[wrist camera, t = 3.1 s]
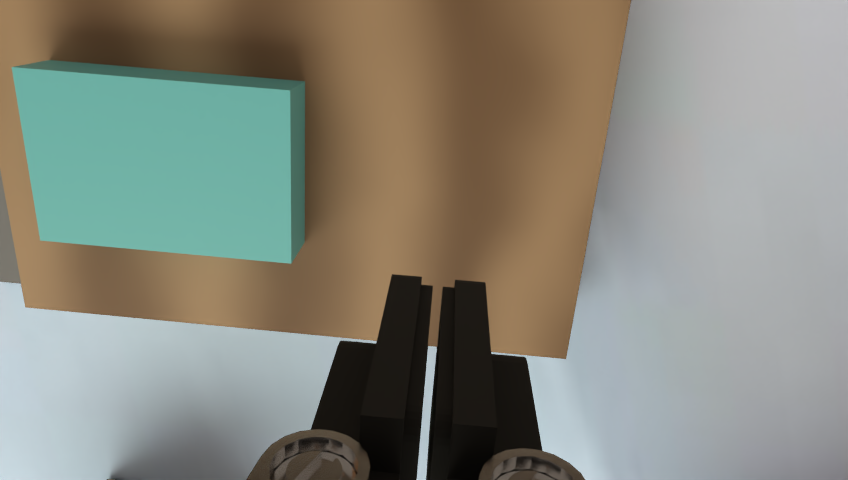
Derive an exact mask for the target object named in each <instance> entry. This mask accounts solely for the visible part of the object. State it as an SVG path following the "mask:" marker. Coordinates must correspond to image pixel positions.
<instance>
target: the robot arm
mask: <svg viewBox="0 0 848 480" xmlns="http://www.w3.org/2000/svg"><path fill="white" fill-rule="evenodd" d="M432 292H433V286H431V285H422V277H419V276H408V275H396V274H392V276H391V280H390V285H389V289H388V294H387V298H386V303H385V307H384V311H383V316H382V320H381V325H380V329H379V334H378V338H377V343H376V344H373V343H362V342H351V341H340V343H339V345H338V348H337V351H336V354H335V357H334V360H333V363H332V366H331V369H330V372H329V375H328V378H327V381H326V385H325V388H324V391H323V394H322V397H321V400H320V403H319V406H318V409H317V412H316V415H315V418H314V421H313V425H312V428H311V430H306V431H299V432H296V433H293V434H290V435H287V436H285V437H283V438H281V439H280V440H278V441H277V442H275V443H273V444H272V445H271V446H270V447H269V448H268V449H267V450H266V451H265V452H264V454H263V455H262V456H261V457H260V459H259V461H258V462H257V464H256V465H255V467H254V468H253V470H252V472H251V473H250V475H249V476H248V478H247V479H246V480H416V478H417V466H418V455H419V443H420V432H421V420H422V408H423V397H424V385H425V374H426V362H427V350H428V339H429V327H430V315H431V304H432ZM426 480H585V479H584V477H583V476H582V474H581V473H580V472H579V471H578V470H577V469H575V468H574V467H573V466H572V465H571V464H570V463H568V462H567V461H565V460H563V459H561V458H559V457H557V456H556V455H554V454H550V453H547V452H544V451H542V446H541V440H540V435H539V429H538V423H537V417H536V411H535V405H534V399H533V393H532V387H531V382H530V376H529V370H528V364H527V360H526V358H525V357H518V356H507V355H496V354H491V344H490V332H489V319H488V307H487V294H486V283H485V282H477V281H465V280H455V284H454V287H443V289H442V299H441V310H440V320H439V331H438V342H437V353H436V364H435V374H434V385H433V396H432V407H431V418H430V431H429V446H428V461H427V476H426Z"/></svg>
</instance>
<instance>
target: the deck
mask: <svg viewBox="0 0 848 480" xmlns="http://www.w3.org/2000/svg"><path fill="white" fill-rule="evenodd" d="M630 3H631V0H0V170H1V176H2V181H3V187H4V192H5V198H6V203H7V209H8V214H9V220H10V225H11V231H12V236H13V242H14V247H15V253H16V258H17V264H18V269H19V275H20V280H21V286H22V291H23V297H24V302H25V307H28V308H39V309H49V310H60V311H70V312H81V313H91V314H101V315H112V316H122V317H133V318H143V319H154V320H164V321H175V322H185V323H196V324H206V325H216V326H227V327H237V328H248V329H258V330H269V331H279V332H290V333H300V334H311V335H321V336H332V337H342V338H352V339H363V340H373V341H377V338H378V334H379V329H380V325H381V320H382V316H383V311H384V307H385V303H386V298H387V294H388V289H389V285H390V280H391V276H392V274H396V275H408V276H419V277H422V285H431V286H433V292H432V304H431V315H430V327H429V339H428V346H436V347H437V342H438V331H439V320H440V310H441V299H442V289H443V287H454V284H455V280H465V281H477V282H485V283H486V294H487V307H488V319H489V332H490V344H491V352H499V353H509V354H520V355H530V356H541V357H551V358H562V359H566V356H567V350H568V345H569V339H570V334H571V328H572V323H573V317H574V312H575V306H576V301H577V295H578V290H579V284H580V279H581V273H582V268H583V262H584V257H585V251H586V246H587V240H588V235H589V229H590V224H591V218H592V213H593V207H594V202H595V196H596V191H597V185H598V179H599V174H600V168H601V163H602V157H603V152H604V146H605V141H606V135H607V130H608V124H609V119H610V113H611V108H612V102H613V97H614V91H615V86H616V80H617V75H618V69H619V64H620V58H621V53H622V47H623V42H624V36H625V31H626V25H627V20H628V14H629V9H630ZM47 60H55V61H67V62H79V63H91V64H103V65H115V66H127V67H139V68H151V69H163V70H175V71H187V72H199V73H211V74H223V75H235V76H247V77H259V78H271V79H283V80H295V81H305V242H304V244H303V246H302V247H301V249H300V251H299V252H298V254H297V255H296V257H295V259H294V260H293V262H292V263H291V264H289V263H278V262H268V261H257V260H246V259H235V258H224V257H213V256H203V255H192V254H181V253H170V252H159V251H148V250H137V249H127V248H116V247H105V246H94V245H83V244H72V243H62V242H51V241H40V236H39V230H38V224H37V218H36V212H35V206H34V200H33V194H32V188H31V182H30V176H29V170H28V164H27V157H26V151H25V145H24V139H23V133H22V127H21V121H20V115H19V109H18V103H17V97H16V91H15V85H14V79H13V73H12V67H15V66H20V65H25V64H31V63H36V62H41V61H47Z"/></svg>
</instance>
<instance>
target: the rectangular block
mask: <svg viewBox="0 0 848 480" xmlns="http://www.w3.org/2000/svg"><path fill="white" fill-rule="evenodd" d="M12 73H13V79H14V85H15V91H16V97H17V103H18V109H19V115H20V121H21V127H22V133H23V139H24V145H25V151H26V157H27V164H28V170H29V176H30V182H31V188H32V194H33V200H34V206H35V212H36V218H37V224H38V230H39V236H40V241H51V242H62V243H72V244H83V245H94V246H105V247H116V248H127V249H137V250H148V251H159V252H170V253H181V254H192V255H203V256H213V257H224V258H235V259H246V260H257V261H268V262H278V263H289V264H291V263H292V262H293V260H294V259H295V257H296V255H297V254H298V252H299V251H300V249H301V247H302V246H303V244H304V242H305V81H295V80H283V79H271V78H259V77H247V76H235V75H223V74H211V73H199V72H187V71H175V70H163V69H151V68H139V67H127V66H115V65H103V64H91V63H79V62H67V61H55V60H47V61H41V62H36V63H31V64H25V65H20V66H15V67H12Z"/></svg>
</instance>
